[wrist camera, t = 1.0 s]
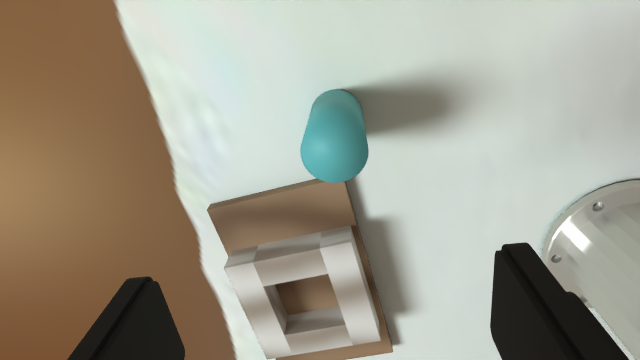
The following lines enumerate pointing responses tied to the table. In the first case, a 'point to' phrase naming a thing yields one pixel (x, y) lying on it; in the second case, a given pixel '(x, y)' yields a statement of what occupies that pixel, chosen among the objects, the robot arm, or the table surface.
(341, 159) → the peg
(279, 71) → the table surface
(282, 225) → the socket board
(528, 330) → the robot arm
